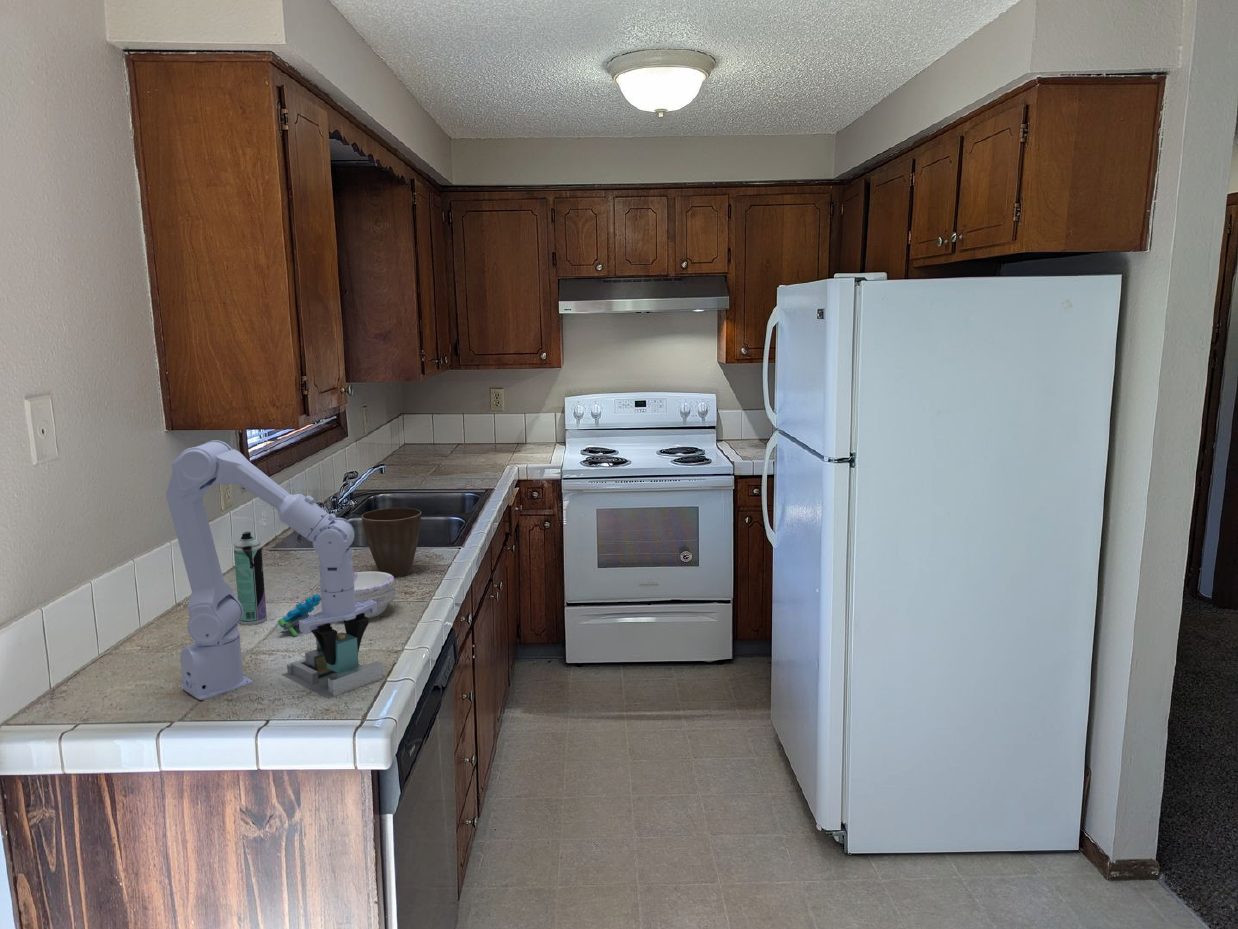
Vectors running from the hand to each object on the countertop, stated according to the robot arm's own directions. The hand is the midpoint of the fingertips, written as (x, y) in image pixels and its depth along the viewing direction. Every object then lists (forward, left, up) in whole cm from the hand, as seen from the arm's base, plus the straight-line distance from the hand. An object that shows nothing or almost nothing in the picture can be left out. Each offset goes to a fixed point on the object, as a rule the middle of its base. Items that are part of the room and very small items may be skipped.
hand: (342, 659), depth 153 cm
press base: (0, +3, -4) cm, 5 cm away
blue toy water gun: (+9, +31, -5) cm, 33 cm away
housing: (0, 0, -2) cm, 2 cm away
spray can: (+5, +44, -4) cm, 44 cm away
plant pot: (+46, +50, -4) cm, 68 cm away
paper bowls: (+23, +30, -4) cm, 38 cm away
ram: (0, +6, -4) cm, 7 cm away
